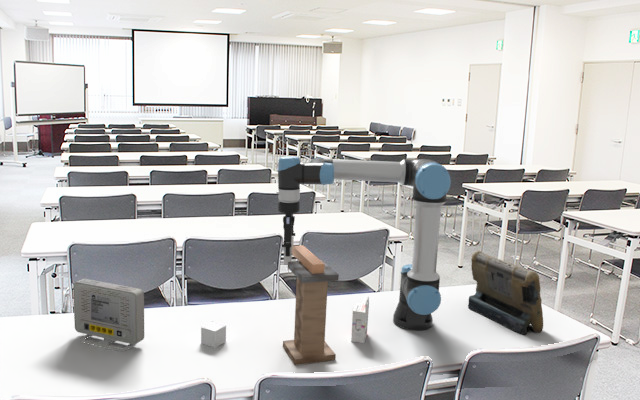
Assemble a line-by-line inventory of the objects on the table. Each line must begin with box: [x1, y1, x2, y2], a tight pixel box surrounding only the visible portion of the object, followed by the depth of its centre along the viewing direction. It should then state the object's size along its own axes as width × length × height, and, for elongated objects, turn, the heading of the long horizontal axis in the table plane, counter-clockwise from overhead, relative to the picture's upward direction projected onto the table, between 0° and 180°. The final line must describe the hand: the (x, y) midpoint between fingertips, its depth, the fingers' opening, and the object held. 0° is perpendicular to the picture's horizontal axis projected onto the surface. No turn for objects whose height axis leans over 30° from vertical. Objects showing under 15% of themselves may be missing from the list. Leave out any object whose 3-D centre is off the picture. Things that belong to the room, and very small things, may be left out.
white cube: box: [200, 320, 227, 349], centre depth 196 cm, size 6×6×6 cm
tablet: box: [467, 250, 544, 336], centre depth 227 cm, size 33×14×25 cm, turn 34°
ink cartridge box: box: [350, 296, 370, 344], centre depth 204 cm, size 9×5×15 cm, turn 168°
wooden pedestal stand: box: [282, 259, 339, 366], centre depth 189 cm, size 16×14×30 cm
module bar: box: [292, 244, 325, 274], centre depth 191 cm, size 22×4×3 cm, turn 20°
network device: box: [72, 278, 145, 352], centre depth 191 cm, size 26×9×20 cm, turn 71°
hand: (288, 259), depth 203 cm, fingers open, 13 cm apart
